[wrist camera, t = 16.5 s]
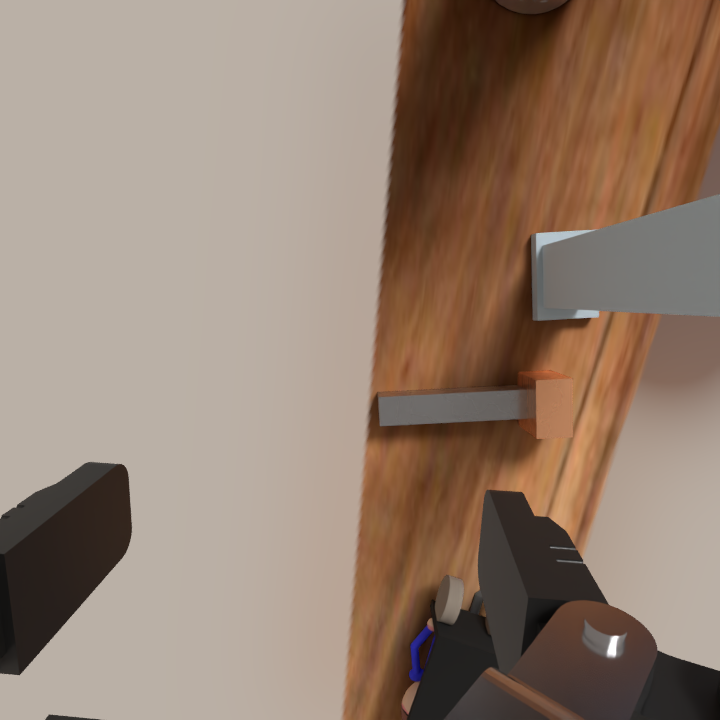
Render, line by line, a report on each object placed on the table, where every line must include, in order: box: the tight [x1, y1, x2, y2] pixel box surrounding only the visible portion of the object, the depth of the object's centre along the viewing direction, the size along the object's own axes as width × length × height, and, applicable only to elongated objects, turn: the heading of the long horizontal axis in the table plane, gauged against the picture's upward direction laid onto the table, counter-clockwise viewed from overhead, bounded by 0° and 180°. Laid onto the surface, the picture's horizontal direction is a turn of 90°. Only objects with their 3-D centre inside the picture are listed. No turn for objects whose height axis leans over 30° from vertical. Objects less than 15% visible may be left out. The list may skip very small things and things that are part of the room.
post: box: [531, 194, 720, 321], centre depth 27 cm, size 7×5×32 cm
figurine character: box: [401, 575, 499, 720], centre depth 44 cm, size 7×8×15 cm
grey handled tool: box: [377, 370, 573, 439], centre depth 42 cm, size 5×15×5 cm, turn 93°
